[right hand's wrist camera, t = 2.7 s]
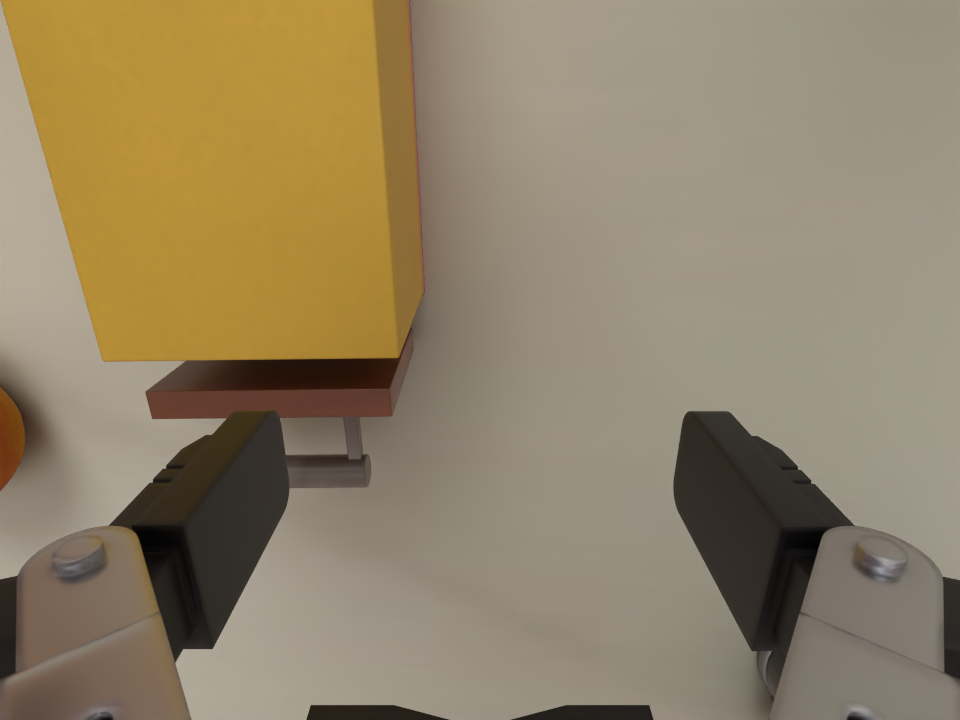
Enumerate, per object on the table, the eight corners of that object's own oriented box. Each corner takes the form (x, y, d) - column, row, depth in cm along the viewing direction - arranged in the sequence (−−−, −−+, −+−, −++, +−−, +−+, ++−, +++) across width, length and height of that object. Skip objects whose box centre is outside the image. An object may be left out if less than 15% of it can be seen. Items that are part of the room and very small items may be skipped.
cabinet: (424, 291, 28) (399, 359, 20) (216, 294, 29) (101, 362, 20) (397, -241, 21) (337, -507, 12) (114, -235, 21) (-143, -495, 12)
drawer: (419, 440, 31) (401, 527, 24) (247, 442, 31) (180, 529, 24) (384, -116, 22) (339, -234, 15) (141, -112, 22) (-16, -226, 15)
